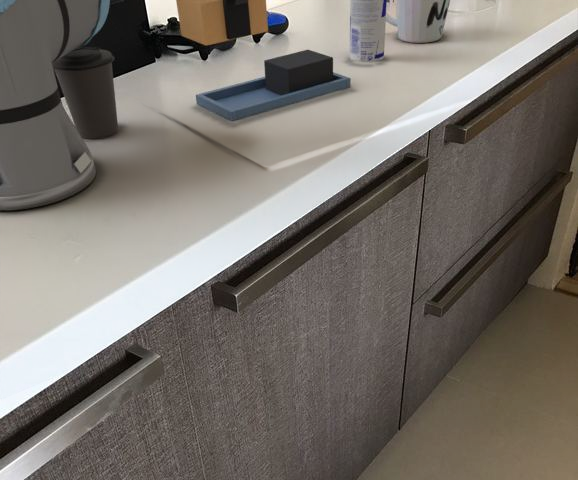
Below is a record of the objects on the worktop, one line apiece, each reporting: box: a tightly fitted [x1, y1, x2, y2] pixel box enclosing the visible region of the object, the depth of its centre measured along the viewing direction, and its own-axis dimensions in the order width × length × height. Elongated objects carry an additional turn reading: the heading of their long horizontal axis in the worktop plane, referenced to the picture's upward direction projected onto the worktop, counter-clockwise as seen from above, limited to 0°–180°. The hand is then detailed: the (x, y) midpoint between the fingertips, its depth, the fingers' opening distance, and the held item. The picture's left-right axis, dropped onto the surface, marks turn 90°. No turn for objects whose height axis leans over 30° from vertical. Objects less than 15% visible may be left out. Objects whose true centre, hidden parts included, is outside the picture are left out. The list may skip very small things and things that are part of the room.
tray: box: [195, 71, 352, 122], centre depth 96 cm, size 21×10×2 cm, turn 126°
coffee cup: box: [52, 46, 119, 140], centre depth 86 cm, size 8×8×10 cm
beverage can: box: [349, 0, 388, 63], centre depth 104 cm, size 6×6×15 cm
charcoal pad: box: [263, 49, 334, 96], centre depth 97 cm, size 8×6×4 cm
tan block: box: [175, 0, 269, 46], centre depth 74 cm, size 8×6×4 cm
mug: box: [386, 0, 451, 44], centre depth 116 cm, size 10×15×10 cm
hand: (224, 30), depth 75 cm, fingers closed on tan block, 6 cm apart
